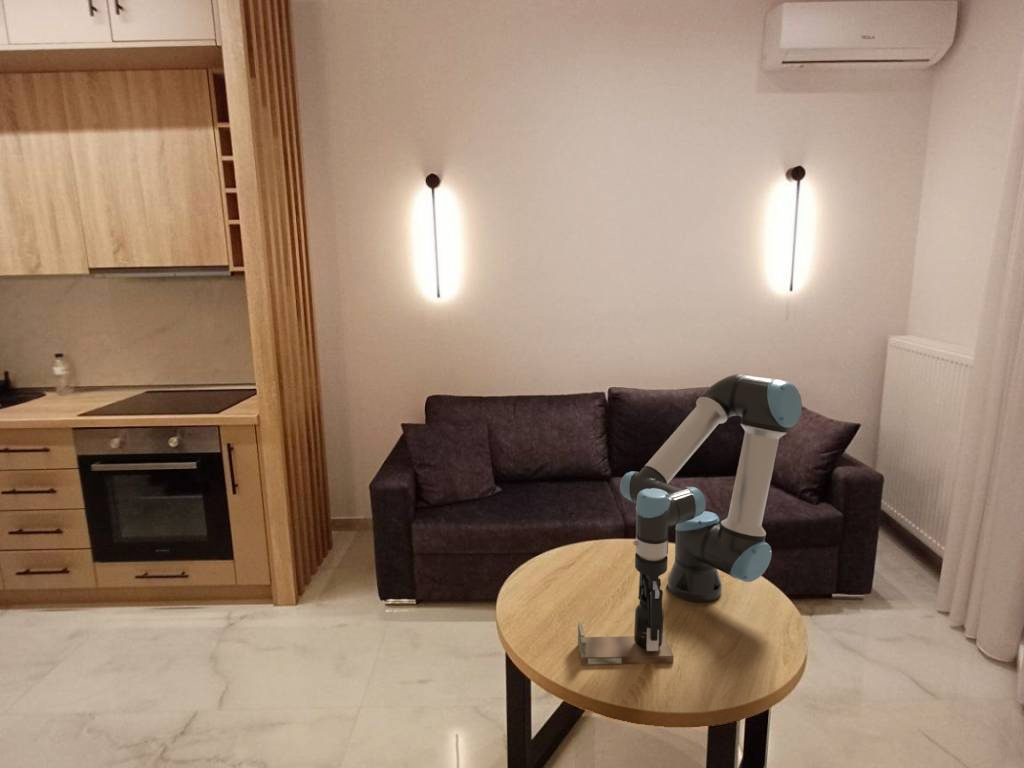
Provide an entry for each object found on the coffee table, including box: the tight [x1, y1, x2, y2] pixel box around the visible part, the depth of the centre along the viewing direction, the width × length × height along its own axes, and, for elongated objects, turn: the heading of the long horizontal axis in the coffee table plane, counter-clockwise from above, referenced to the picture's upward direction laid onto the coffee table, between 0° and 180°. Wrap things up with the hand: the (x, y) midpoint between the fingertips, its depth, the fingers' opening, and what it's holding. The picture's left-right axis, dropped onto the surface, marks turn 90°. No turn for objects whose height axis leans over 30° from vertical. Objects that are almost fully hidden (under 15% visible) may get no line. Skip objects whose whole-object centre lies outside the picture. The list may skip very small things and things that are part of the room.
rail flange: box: [577, 622, 674, 666], centre depth 150 cm, size 22×8×6 cm, turn 90°
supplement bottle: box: [633, 593, 665, 649], centre depth 149 cm, size 7×7×12 cm
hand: (648, 640), depth 150 cm, fingers closed on supplement bottle, 7 cm apart
